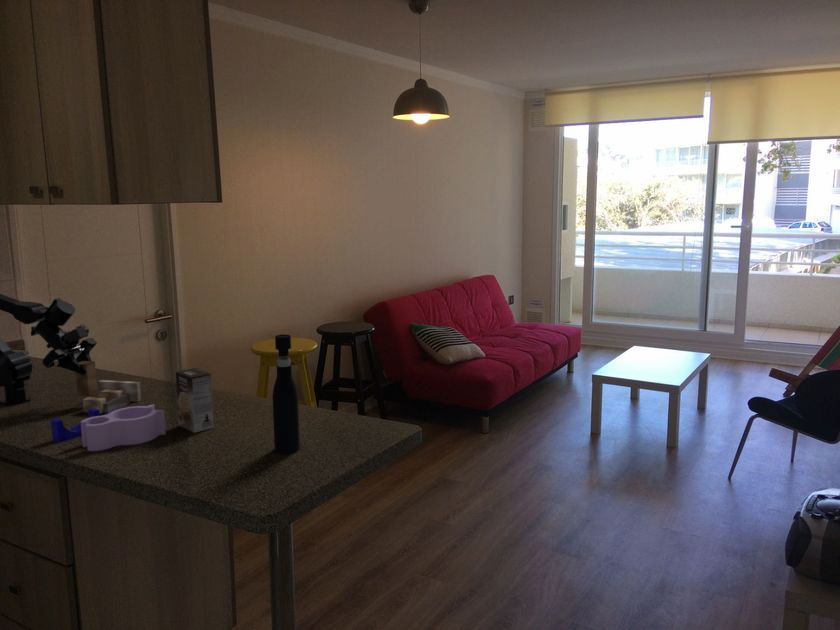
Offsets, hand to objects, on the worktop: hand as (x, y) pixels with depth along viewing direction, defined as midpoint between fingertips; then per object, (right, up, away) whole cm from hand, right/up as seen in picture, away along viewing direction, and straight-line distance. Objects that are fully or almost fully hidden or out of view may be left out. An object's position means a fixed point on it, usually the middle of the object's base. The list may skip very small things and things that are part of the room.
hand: (89, 372), depth 210 cm
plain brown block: (-1, -7, +2) cm, 7 cm away
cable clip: (+7, -16, -23) cm, 28 cm away
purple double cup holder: (+22, -16, -26) cm, 38 cm away
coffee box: (+39, -14, -17) cm, 44 cm away
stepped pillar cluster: (+4, -11, +3) cm, 12 cm away
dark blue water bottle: (+68, -17, -34) cm, 78 cm away
